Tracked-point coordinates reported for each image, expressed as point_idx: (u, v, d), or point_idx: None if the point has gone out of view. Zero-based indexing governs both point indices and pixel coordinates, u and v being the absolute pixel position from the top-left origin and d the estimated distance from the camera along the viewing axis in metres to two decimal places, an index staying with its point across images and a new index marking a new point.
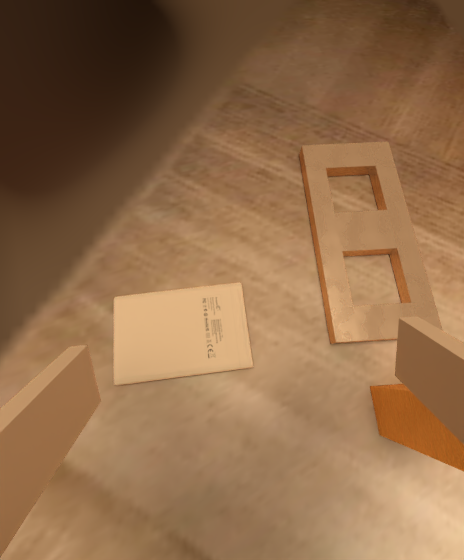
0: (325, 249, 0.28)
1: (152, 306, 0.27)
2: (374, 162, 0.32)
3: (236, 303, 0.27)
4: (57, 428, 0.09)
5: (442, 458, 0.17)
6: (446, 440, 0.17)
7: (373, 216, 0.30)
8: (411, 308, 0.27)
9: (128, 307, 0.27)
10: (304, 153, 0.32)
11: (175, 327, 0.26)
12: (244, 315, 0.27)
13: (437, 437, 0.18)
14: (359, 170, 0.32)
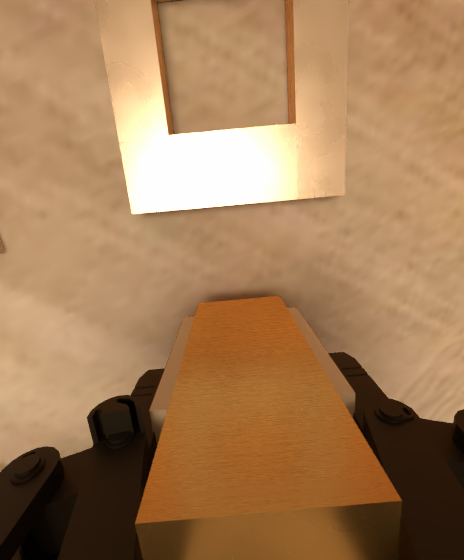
0: None
1: None
2: None
3: None
4: None
5: None
6: None
7: None
8: (295, 136, 0.13)
9: None
10: None
11: None
12: None
13: None
14: None
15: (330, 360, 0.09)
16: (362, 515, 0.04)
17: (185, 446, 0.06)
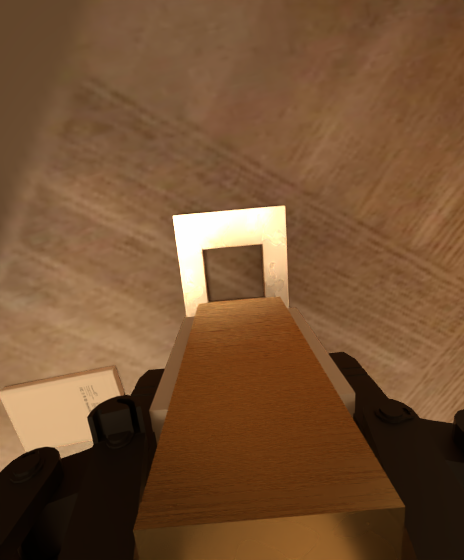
0: None
1: (36, 398, 0.30)
2: (262, 239, 0.26)
3: (111, 389, 0.30)
4: None
5: None
6: None
7: None
8: None
9: (14, 400, 0.30)
10: (175, 228, 0.25)
11: (62, 412, 0.31)
12: None
13: None
14: None
15: (330, 360, 0.09)
16: (365, 522, 0.04)
17: (183, 450, 0.05)
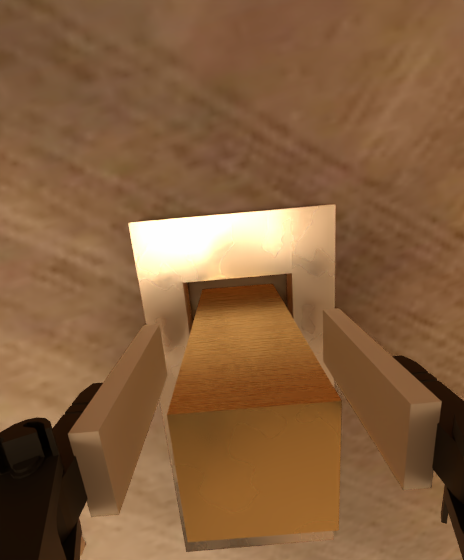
0: None
1: None
2: (291, 264, 0.14)
3: None
4: (148, 391, 0.11)
5: None
6: None
7: None
8: None
9: None
10: (134, 245, 0.14)
11: None
12: None
13: None
14: None
15: (399, 365, 0.08)
16: (316, 411, 0.07)
17: (197, 377, 0.08)
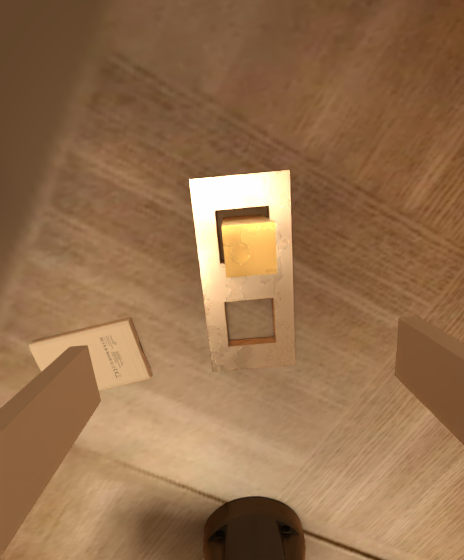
0: (209, 300, 0.32)
1: (61, 349, 0.34)
2: (268, 201, 0.29)
3: (128, 338, 0.33)
4: (57, 428, 0.09)
5: None
6: None
7: None
8: (276, 345, 0.33)
9: (43, 351, 0.34)
10: (191, 190, 0.28)
11: None
12: (136, 346, 0.34)
13: None
14: None
15: None
16: (267, 225, 0.21)
17: (228, 223, 0.22)
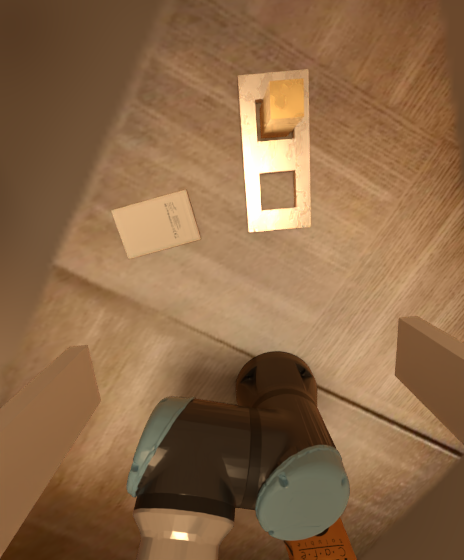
0: (248, 172, 0.43)
1: (135, 213, 0.45)
2: None
3: (185, 204, 0.45)
4: (57, 428, 0.09)
5: (268, 122, 0.36)
6: (268, 110, 0.35)
7: (284, 144, 0.42)
8: (296, 210, 0.45)
9: (121, 216, 0.45)
10: (239, 84, 0.40)
11: (152, 224, 0.46)
12: (191, 211, 0.45)
13: (267, 112, 0.36)
14: None
15: None
16: (298, 80, 0.33)
17: None
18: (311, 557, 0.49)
